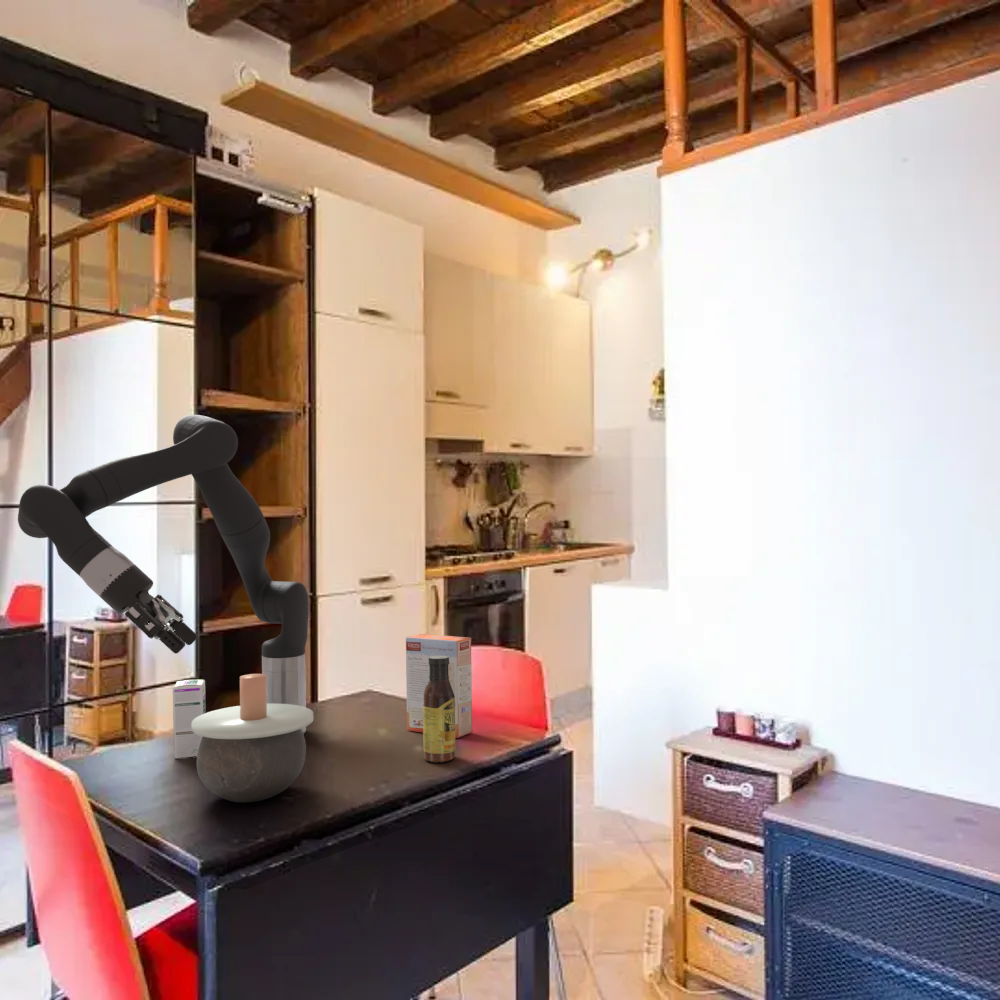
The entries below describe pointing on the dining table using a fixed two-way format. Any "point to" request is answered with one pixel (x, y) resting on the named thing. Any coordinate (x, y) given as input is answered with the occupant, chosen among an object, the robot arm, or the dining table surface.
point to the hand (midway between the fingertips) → (187, 645)
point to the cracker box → (458, 674)
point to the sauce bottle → (439, 713)
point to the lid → (252, 715)
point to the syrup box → (187, 715)
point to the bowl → (251, 765)
